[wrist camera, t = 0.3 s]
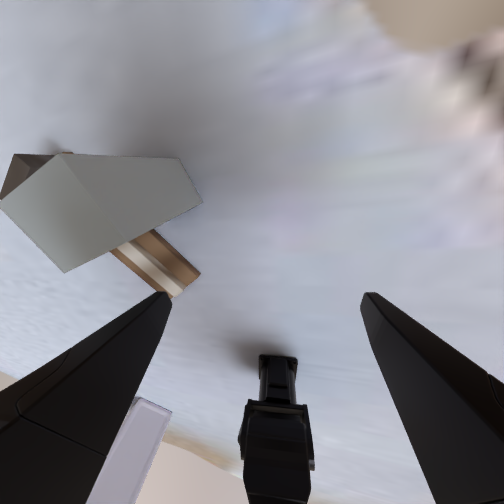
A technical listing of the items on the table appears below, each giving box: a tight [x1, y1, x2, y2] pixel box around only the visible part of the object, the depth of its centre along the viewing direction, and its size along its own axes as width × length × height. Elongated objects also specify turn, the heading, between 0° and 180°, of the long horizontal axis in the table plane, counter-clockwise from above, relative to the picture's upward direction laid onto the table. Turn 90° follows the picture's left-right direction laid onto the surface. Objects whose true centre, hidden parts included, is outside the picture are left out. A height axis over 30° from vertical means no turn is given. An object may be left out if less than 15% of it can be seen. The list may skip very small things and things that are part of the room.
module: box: [0, 153, 203, 273], centre depth 16 cm, size 5×6×12 cm
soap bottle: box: [86, 398, 172, 504], centre depth 36 cm, size 9×7×23 cm
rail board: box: [0, 152, 201, 299], centre depth 22 cm, size 20×7×5 cm, turn 41°
